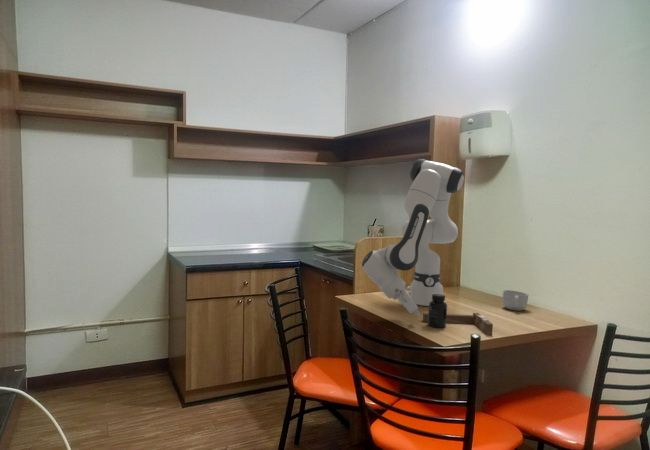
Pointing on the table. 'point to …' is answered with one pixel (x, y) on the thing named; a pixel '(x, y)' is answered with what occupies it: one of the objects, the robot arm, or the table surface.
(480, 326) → the rack
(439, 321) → the supplement bottle
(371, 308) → the table surface
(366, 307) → the table surface
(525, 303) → the teacup
